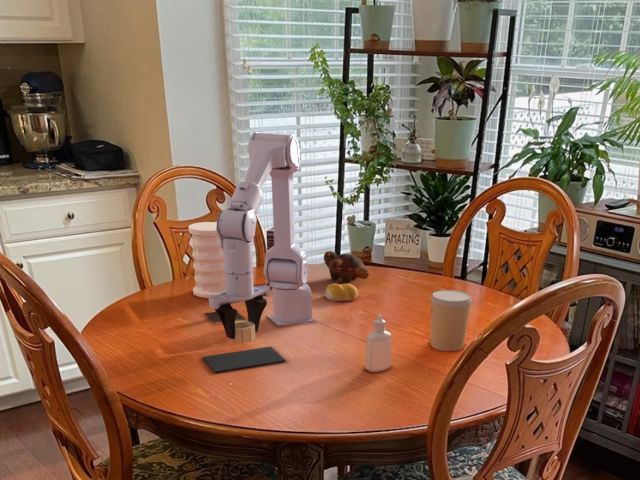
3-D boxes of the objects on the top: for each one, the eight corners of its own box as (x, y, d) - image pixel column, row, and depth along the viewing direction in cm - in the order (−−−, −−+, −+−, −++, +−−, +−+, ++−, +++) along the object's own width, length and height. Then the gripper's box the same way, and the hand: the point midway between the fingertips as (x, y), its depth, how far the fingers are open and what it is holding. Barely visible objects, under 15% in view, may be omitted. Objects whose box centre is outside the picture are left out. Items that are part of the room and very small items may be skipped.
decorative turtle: (328, 273, 219) (331, 246, 215) (373, 283, 215) (377, 256, 211) (314, 279, 212) (317, 251, 208) (361, 289, 207) (364, 262, 203)
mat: (270, 348, 164) (270, 346, 164) (285, 361, 157) (285, 360, 157) (202, 358, 157) (202, 356, 157) (215, 373, 151) (215, 371, 150)
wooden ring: (244, 332, 158) (243, 318, 157) (260, 338, 155) (260, 325, 153) (223, 337, 155) (222, 324, 153) (240, 344, 151) (239, 331, 150)
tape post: (234, 311, 186) (233, 292, 183) (244, 320, 180) (243, 301, 177) (204, 315, 182) (202, 295, 180) (213, 324, 176) (212, 304, 174)
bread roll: (361, 300, 197) (362, 286, 195) (330, 303, 194) (330, 288, 192) (351, 292, 203) (352, 278, 201) (321, 294, 200) (321, 280, 198)
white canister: (444, 335, 174) (448, 286, 168) (474, 346, 169) (480, 296, 163) (419, 344, 169) (422, 294, 163) (449, 355, 163) (454, 304, 157)
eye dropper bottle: (391, 372, 154) (394, 318, 148) (366, 372, 153) (368, 318, 147) (389, 364, 158) (391, 311, 151) (363, 364, 157) (365, 311, 151)
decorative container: (186, 297, 195) (179, 229, 185) (203, 285, 204) (197, 220, 195) (226, 301, 193) (221, 232, 183) (241, 289, 202) (237, 223, 193)
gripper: (254, 261, 154) (257, 322, 161) (198, 273, 145) (203, 337, 152) (275, 268, 150) (277, 330, 157) (218, 280, 141) (223, 346, 148)
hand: (242, 334), depth 154 cm, fingers closed on wooden ring, 5 cm apart
